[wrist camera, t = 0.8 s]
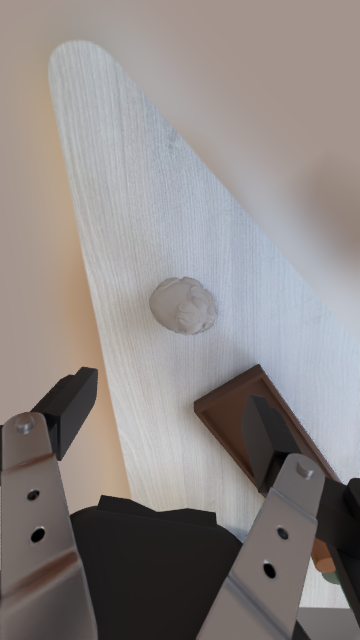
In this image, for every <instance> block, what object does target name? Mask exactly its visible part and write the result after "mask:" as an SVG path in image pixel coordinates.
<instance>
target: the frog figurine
mask: <svg viewBox="0 0 360 640" xmlns="http://www.w3.org/2000/svg"><path fill="white" fill-rule="evenodd" d="M149 306H150V310H151V312H152V314H153V316H154V318H155V319H156V320H157V321H158V322H159V323H160V324H161V325H162V326H164V327H166V328H167V329H169V330H171V331H174V332H176V333H180V334H183V335H193V334H197V333H200V332H204V331H206V330H207V329H209V328H210V327H212V326H213V325H214V323H215V321H216V318H217V309H216V305H215V301H214V298H213V296H212V294H211V293H210V292H209V291H208V290H207V289H204V288H203V286H202V284H201V283H200V282H199V281H197V280H195V279H193V278H189V277H183V278H182V279H181V280H180V279H179V278H170V279H167V280H165V281H163V282H162V283H161V284H160V285H159V286H158V287H157V290H155V291H154V292H153V293H152V295H151V296H150V298H149Z"/></svg>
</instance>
